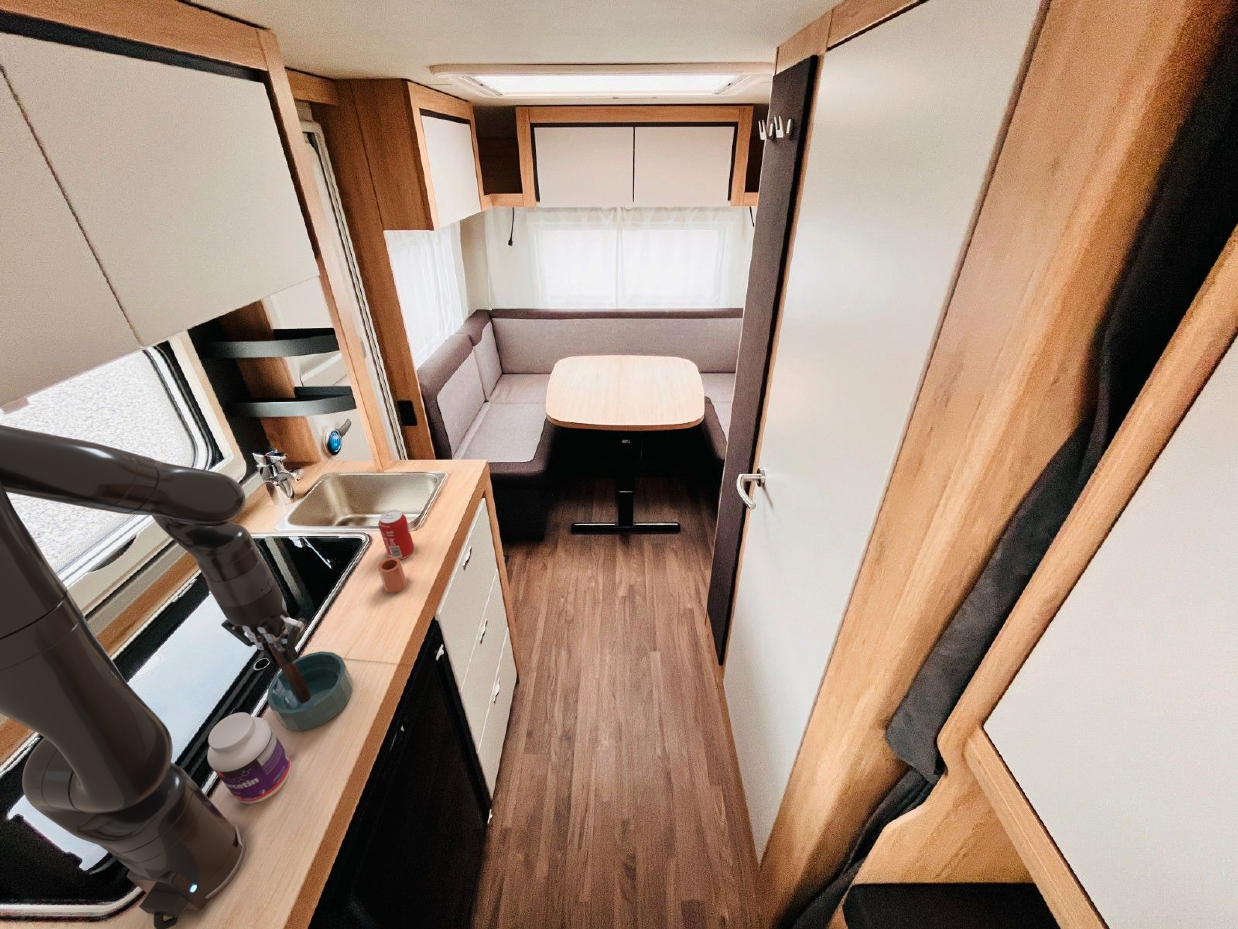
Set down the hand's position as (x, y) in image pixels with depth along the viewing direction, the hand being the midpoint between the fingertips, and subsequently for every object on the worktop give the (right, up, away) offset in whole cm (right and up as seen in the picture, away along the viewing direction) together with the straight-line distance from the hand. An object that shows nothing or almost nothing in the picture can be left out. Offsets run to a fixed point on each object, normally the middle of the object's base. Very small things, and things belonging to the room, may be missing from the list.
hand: (284, 659), depth 86 cm
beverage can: (+2, +10, +42) cm, 44 cm away
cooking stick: (0, -9, +6) cm, 11 cm away
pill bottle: (-1, -19, -3) cm, 19 cm away
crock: (+5, +4, +33) cm, 33 cm away
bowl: (+1, -11, +9) cm, 14 cm away
